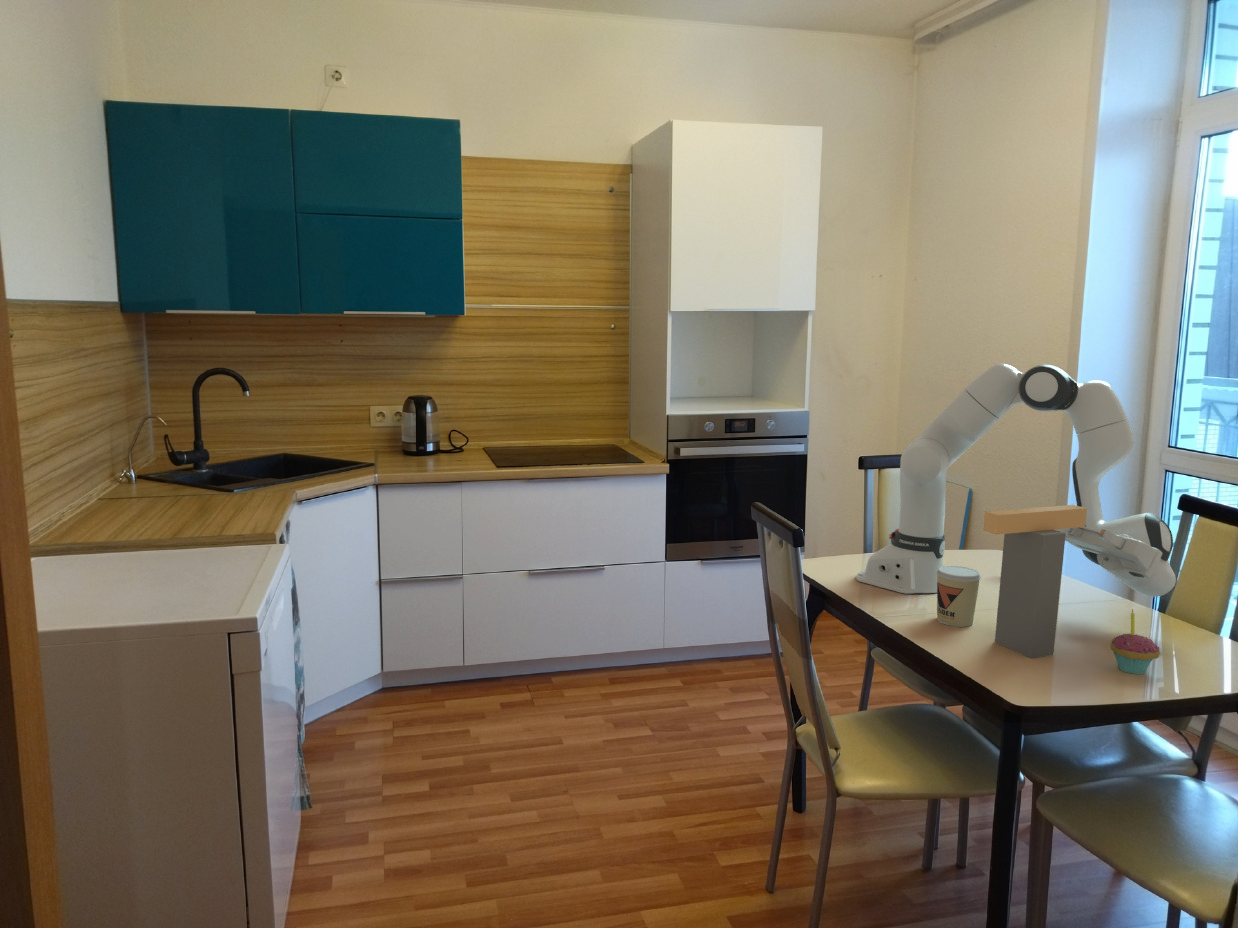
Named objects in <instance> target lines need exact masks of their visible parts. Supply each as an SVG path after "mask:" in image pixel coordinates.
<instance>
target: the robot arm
mask: <svg viewBox="0 0 1238 928" xmlns="http://www.w3.org/2000/svg"><path fill="white" fill-rule="evenodd" d="M1023 403H1024V405H1026V406H1028V408H1030V409H1033V410H1035V411H1038V412H1043V413H1051V412H1058V411H1061V412H1064V413H1065V414H1067V416H1068V417H1069V418H1070V420H1071V422H1072V425H1073V428H1074V432H1075V433H1076V437H1077V441H1078V451H1077V452H1078V453H1077V457H1075V459H1074V460H1073V462H1072V467H1071V468H1072V469H1071V470H1072V481H1073V489H1074V495H1075V500H1076V506H1080V507H1084V508H1087V514H1086V524H1085V527H1077V528H1066V529H1058V531H1060V532H1063V533H1066V535H1065V542H1067V543H1068V544H1070V545H1072V546H1074V547H1075V548H1077V549H1080V550H1082V554H1083V555H1084V556H1085V558H1087V559H1088V561H1091V562H1092V563H1094V564H1095V565H1098V566H1100V567H1101V568H1103V569H1104V570H1106V572H1109V574H1111V575H1112V576H1114V577H1115V578H1116V579H1119V580H1121V581H1122V583H1124V584H1125V585H1126V586H1127V587H1129V588H1130V589H1131V590H1134V591H1135V592H1136V593H1139V594H1140V595H1143V596H1146V597H1149V598H1150V597H1151V598H1155V597H1162V596H1165V595H1166V594H1168V593H1169V592H1170V591H1172V590H1173V588H1174V587H1175V585H1176V581H1177V580H1176V573H1175V572H1174V571H1173V568H1172V566H1171V565H1170V561H1169V559H1170V556H1171V552H1172V550H1173V546H1174V539H1173V533H1172V530H1171V528H1170V527H1169V525H1168V524H1167V522H1166V521H1164V520H1163V519H1162V518H1161V517H1160V516H1158V515H1156V514H1154V513H1152V512H1144V513H1138V514H1134V515H1130V516H1129V515H1128V516H1126V517H1123V518H1117V519H1113V520H1108V521H1106V520H1105V518H1104V517H1103V516H1104V515H1103V511H1102V505H1101V497H1100V493H1099V491H1100V490H1099V485H1100V482H1101V480H1102V478H1103V477H1104V476H1105V475H1106V474H1107V473H1108V472H1110V471H1111V470H1112V469H1114V468H1115V467H1117V465H1119V464H1121V462H1123V461H1124V460H1125V459H1126V458H1127V457H1128V456H1129V454H1130V453H1131V451H1132V449H1133V447H1134V442H1135V441H1134V440H1135V439H1134V434H1133V430H1132V427H1131V424H1130V421H1129V418H1128V416H1127V413H1126V411H1125V409H1124V407H1123V404H1122V402H1121V401H1120V398H1119V396H1118V395H1117V394H1116V391H1115V390H1114V389H1113V387H1112V386H1111V384H1110V383H1108V382H1106V381H1103V380H1089V381H1086V382H1080V383H1079V382H1077V381H1075V379H1073V378H1072V376H1071V375H1070V374H1069V373H1068V372H1067V371H1066V370H1065V369H1063V368H1062V367H1060V366H1058V365H1053V364H1039V365H1035V366H1032V367H1031V368H1029V369H1028V370H1027V371H1026V372H1022V371H1020V370H1018V369H1017V368H1015V367H1013V365H1009V364H1007V363H997V364H994V365H992V366H991V367H990V368H988V369H986V370H985V371H984V372H982V373H981V374H980V375H979V376H977V377H976V378H975V379H974V380H973V381H972V382H970V383H969V385H968V386H966V387H965V388H964V390H963V391H961V392H960V393H959V394H958V395H957V396H956V398H954V399H953V400H952V401H951V403H949V405H947V407H945V409H943V410H942V411H941V413H940V414H939V415H938V416H937V417H936V418H935V419H934V420H933V421H932V422H931V423H930V424H929V425H928V426H927V427H926V428H925V429H924V430H923V431H922V432H921V433H920V434H919V436H917V437H916V438H915V440H913V441H912V442H911V443H909V445H908V446H907V447H905V448H904V450H903V452H902V453H901V456H900V463H899V465H900V466H899V467H900V468H899V470H900V471H899V491H900V504H899V505H900V506H899V522H898V527H897V528H896V529H895V530H894V531H893V532H891V533H890V534H888V536H889V537H888V539H890V543H889V544H887V545H886V546H883V548H880V549H879V550H877V551H876V552H874V553H872V554H871V555H870V556H869V558H868V560H867V562H866V564H865V565H866V566H865V569H863V570H860V571H859V572H858V573H857V574H856V577H855V578H856V581H857V582H860V583H864V584H866V585H867V584H868V585H871V586H874V587H878V588H883V589H886V590H889V591H894V592H898V593H900V594H905V595H909V594H937V576H938V575H937V571H938V569H939V568H940V567H943V565H944V564H943V557H944V554H945V547H946V541H945V539H946V536H945V532H944V528H945V516H946V505H947V504H946V493H947V492H946V491H947V490H946V487H947V485H946V483H947V470H948V469H949V468H950V467H951V466H952V465H953V464H954V463H955V462H957V460H958V459H960V458H961V456H962V455H963V454H965V453H966V452H968V450H969V449H970V448H971V447H973V445H975V443H977V442H978V441H979V440H980V439H981V438H982V437H983V436H984V435H985V434H986V433H987V432H988V431H989V430H990V429H991V428H992V427H993V426H994V425H995V424H996V423H998V421H999V420H1000V419H1001V418H1002V417H1003V416H1004V415H1005V414H1007V412H1009V411H1010V409H1012V408H1013V407H1015V406H1016V405H1019V404H1023Z"/></svg>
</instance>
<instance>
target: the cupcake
mask: <svg viewBox="0 0 1238 928" xmlns="http://www.w3.org/2000/svg"><path fill="white" fill-rule="evenodd" d="M1135 616H1136V615H1135V613H1134V609H1133V608H1131V613H1130V633H1124V634H1119V635H1117V636H1115V637H1113V638H1112V639H1111V643H1110V650H1111V651H1112V652H1113V655H1114V657H1115V659H1116V665H1117V668H1118V669H1119V671H1122V672H1125V673H1127V674H1128V673H1129V674H1133V675H1142V674H1143V675H1144V674H1145V673H1146V671H1148V670H1147V669H1148V668H1149V666H1150V664H1151V662H1152V661H1153V660H1155V659H1156V660H1157V659H1158V658H1159V657H1160V656H1161V649H1160V647H1158V645H1157V643H1155V642H1154V641H1153V640H1152V639H1150V638H1148V637H1147V636H1145V637H1144V636H1143V635H1139V634H1136V633H1135V625H1136V624H1135V621H1136V620H1135Z"/></svg>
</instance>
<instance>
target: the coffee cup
mask: <svg viewBox="0 0 1238 928" xmlns="http://www.w3.org/2000/svg"><path fill="white" fill-rule="evenodd" d="M937 575H938V576H937V593H936V619H937V622H939V623H941V624H944V625H946V626H950V627H958V628H959V627H961V628H964V627H971V626H972V625H973V623H974V617H975V611H976V605H977V599H978V594H979V587H980V586H979V585H980V580H981V577H982V576H981V575H980V572H979V571H978V570H977V569H973V568H970V567H965V566H958V565H944V566H943V567H940V568H939V569H938V571H937Z"/></svg>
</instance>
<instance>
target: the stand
mask: <svg viewBox="0 0 1238 928" xmlns="http://www.w3.org/2000/svg"><path fill="white" fill-rule="evenodd" d="M1003 535H1004V537H1003V545H1002V547H1003V548H1002V557H1001V571H1000V578H999V579H1000V581H999V591H998V602H997V612H996V613H997V614H996V625H995V634H994V635H995V636H994V643H996V644H999V645H1001V646H1003V647H1005V648H1007V649H1010V650H1011V651H1013V652H1017V653H1018V654H1020V655H1023V656H1025V657H1027V658H1030V659H1035V658H1037V659H1038V658H1042V657H1043V658H1044V657H1050V656H1054V653H1055V652H1054V651H1055V644H1056V643H1055V642H1056V634H1057V633H1056V632H1057V624H1058V623H1057V622H1058V612H1059V604H1060V594H1061V583H1062V575H1063V565H1064V564H1063V562H1064V554H1065V544H1066V541H1065V535H1066V533H1063V532H1060V531H1059V530H1057V529H1054V530H1043V531H1032V532H1020V533H1009V534H1003Z"/></svg>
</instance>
